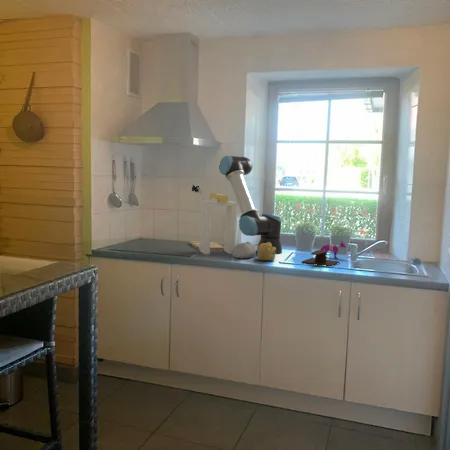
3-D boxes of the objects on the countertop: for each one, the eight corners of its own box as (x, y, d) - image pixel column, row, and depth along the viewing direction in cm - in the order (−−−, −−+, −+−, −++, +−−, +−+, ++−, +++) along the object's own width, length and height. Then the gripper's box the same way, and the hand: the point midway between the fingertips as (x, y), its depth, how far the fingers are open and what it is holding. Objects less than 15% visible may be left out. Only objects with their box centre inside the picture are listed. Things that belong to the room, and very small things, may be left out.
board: (225, 250, 289) (225, 247, 289) (200, 250, 284) (200, 247, 283) (212, 243, 313) (213, 241, 313) (189, 243, 308) (189, 241, 308)
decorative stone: (249, 255, 257) (240, 239, 259) (234, 264, 261) (226, 248, 263) (261, 254, 272) (253, 238, 275) (247, 262, 276) (240, 247, 279)
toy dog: (344, 259, 275) (346, 242, 274) (314, 256, 283) (315, 239, 282) (345, 258, 279) (347, 241, 278) (315, 255, 286) (316, 238, 285)
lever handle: (299, 251, 254) (312, 247, 271) (298, 264, 255) (311, 259, 272) (329, 255, 246) (341, 250, 263) (328, 269, 247) (340, 263, 264)
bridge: (234, 253, 277) (236, 199, 274) (204, 254, 271) (206, 198, 268) (228, 251, 286) (231, 198, 283) (199, 251, 281) (202, 197, 277)
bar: (227, 202, 268) (227, 195, 267) (220, 202, 266) (221, 195, 266) (215, 199, 288) (216, 193, 288) (209, 199, 287) (209, 193, 287)
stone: (272, 262, 254) (273, 244, 253) (253, 261, 257) (254, 242, 256) (277, 259, 266) (278, 241, 265) (259, 257, 269) (260, 239, 268)
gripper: (217, 187, 328) (228, 195, 309) (182, 190, 319) (192, 198, 301) (217, 176, 325) (229, 183, 307) (182, 179, 317) (192, 186, 298)
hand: (210, 191), depth 304 cm, fingers open, 13 cm apart
